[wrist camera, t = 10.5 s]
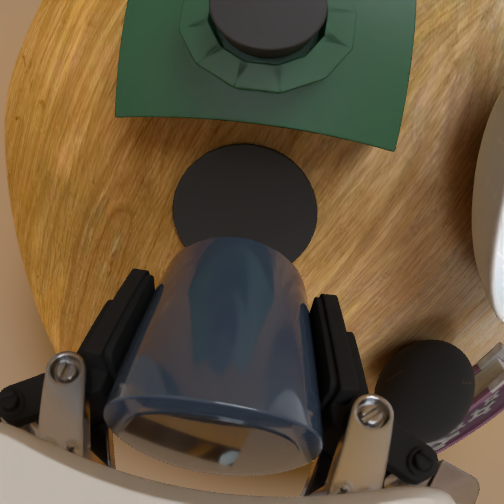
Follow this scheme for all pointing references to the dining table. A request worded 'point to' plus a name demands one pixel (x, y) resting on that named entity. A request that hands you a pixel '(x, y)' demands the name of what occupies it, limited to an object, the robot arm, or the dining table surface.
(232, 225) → the coaster
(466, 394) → the speaker
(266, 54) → the dark grey short cylinder
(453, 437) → the book
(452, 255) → the dining table surface
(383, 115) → the green base stand
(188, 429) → the tumbler
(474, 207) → the serving bowl
